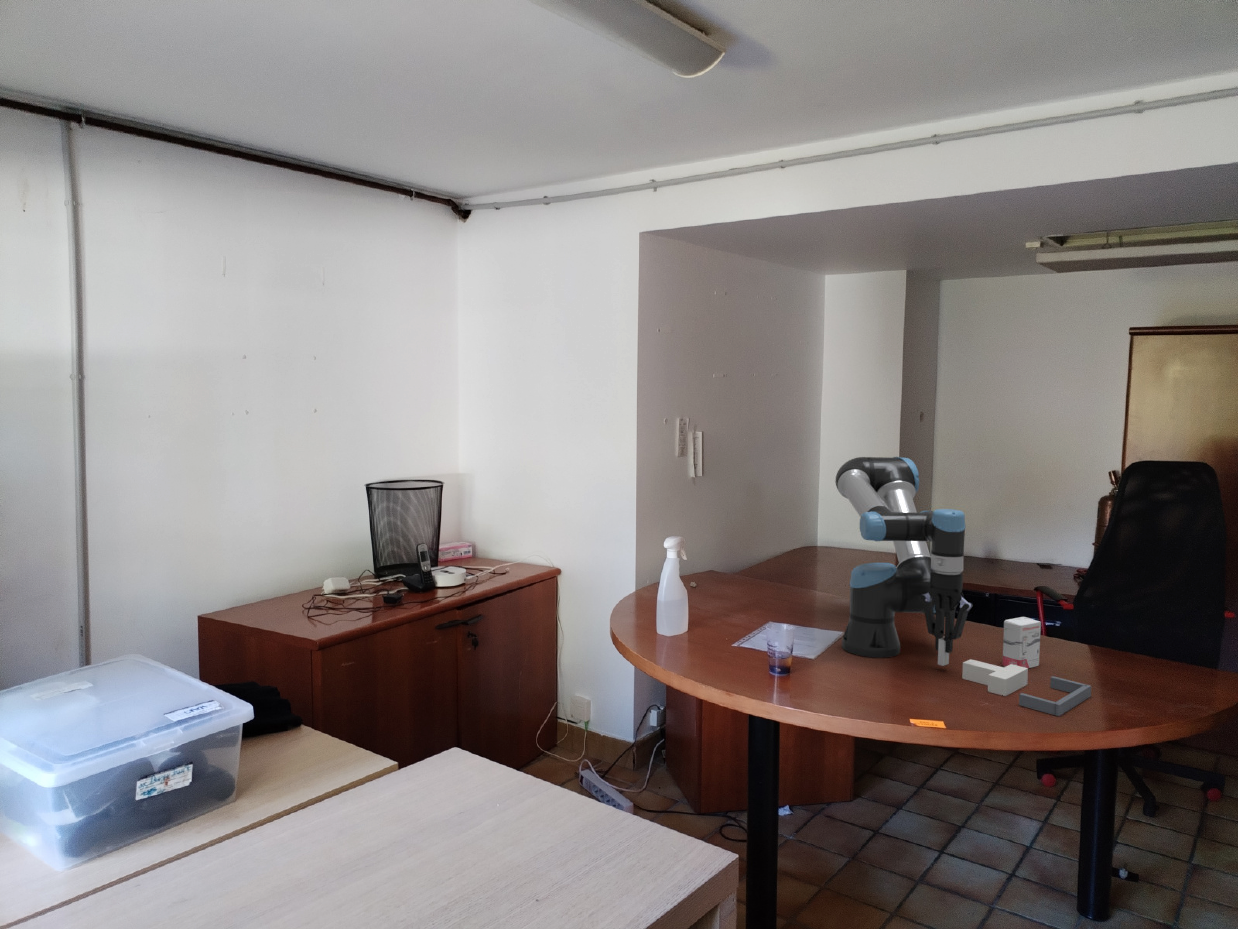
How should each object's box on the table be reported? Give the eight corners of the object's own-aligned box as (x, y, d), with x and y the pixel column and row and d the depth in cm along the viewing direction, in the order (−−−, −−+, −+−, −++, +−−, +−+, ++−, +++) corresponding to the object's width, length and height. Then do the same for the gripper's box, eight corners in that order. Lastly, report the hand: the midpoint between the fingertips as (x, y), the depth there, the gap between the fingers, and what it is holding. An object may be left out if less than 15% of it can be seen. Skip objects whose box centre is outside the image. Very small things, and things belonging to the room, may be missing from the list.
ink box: (1018, 671, 198) (1020, 625, 197) (1000, 665, 202) (1002, 620, 201) (1039, 666, 202) (1042, 620, 201) (1022, 660, 206) (1024, 616, 205)
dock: (1018, 705, 175) (1019, 694, 175) (1052, 686, 187) (1052, 676, 187) (1058, 716, 169) (1059, 705, 169) (1090, 696, 181) (1091, 685, 181)
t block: (954, 682, 190) (955, 666, 189) (977, 671, 198) (978, 656, 197) (1005, 696, 181) (1005, 679, 180) (1027, 684, 188) (1028, 668, 188)
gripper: (914, 569, 199) (911, 660, 201) (965, 578, 189) (961, 674, 191) (929, 565, 204) (926, 654, 205) (979, 573, 194) (975, 667, 195)
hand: (943, 664), depth 198 cm, fingers closed
